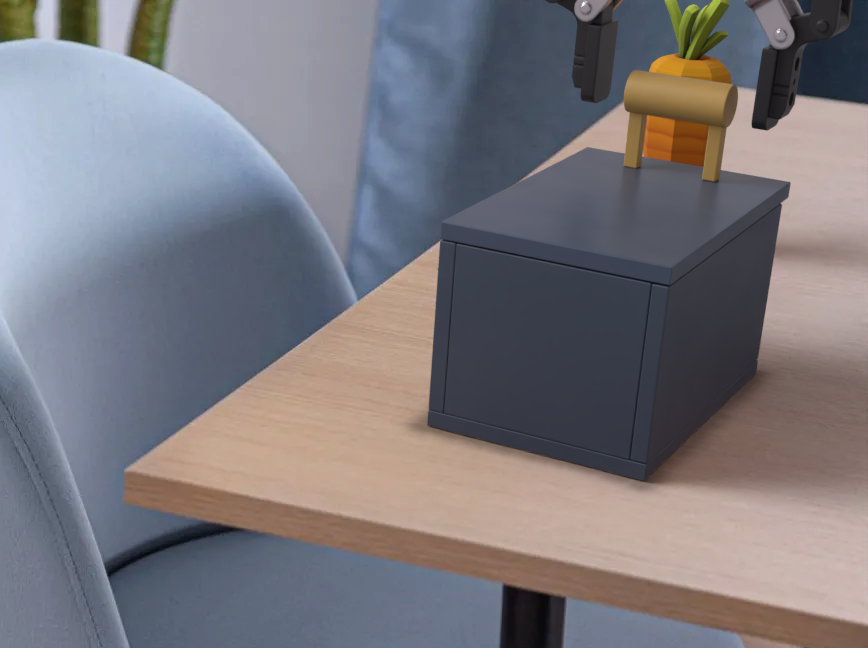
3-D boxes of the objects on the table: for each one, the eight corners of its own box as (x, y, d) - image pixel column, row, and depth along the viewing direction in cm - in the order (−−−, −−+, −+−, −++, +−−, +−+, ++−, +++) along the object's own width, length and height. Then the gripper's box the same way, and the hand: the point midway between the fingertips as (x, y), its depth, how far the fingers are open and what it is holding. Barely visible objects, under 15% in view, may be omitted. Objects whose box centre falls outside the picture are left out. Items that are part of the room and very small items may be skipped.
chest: (561, 331, 93) (578, 166, 89) (756, 374, 89) (782, 203, 85) (426, 425, 81) (439, 240, 77) (644, 481, 76) (669, 287, 72)
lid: (585, 162, 90) (596, 54, 87) (788, 198, 85) (806, 85, 83) (439, 239, 77) (448, 115, 74) (669, 286, 72) (687, 156, 70)
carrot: (612, 236, 109) (641, -15, 102) (682, 230, 111) (714, -16, 104) (653, 260, 105) (685, 0, 98) (724, 254, 107) (761, -1, 100)
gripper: (911, -248, 77) (846, 122, 84) (606, -269, 83) (570, 79, 90) (866, -246, 71) (800, 153, 78) (542, -268, 77) (508, 104, 84)
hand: (677, 113), depth 84 cm, fingers open, 8 cm apart
